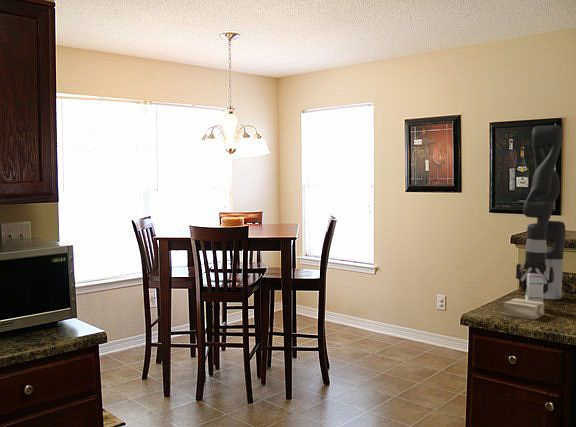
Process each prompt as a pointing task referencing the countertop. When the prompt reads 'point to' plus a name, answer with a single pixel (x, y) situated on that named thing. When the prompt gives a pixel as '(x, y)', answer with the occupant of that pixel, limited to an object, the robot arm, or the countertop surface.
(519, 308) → the maple block
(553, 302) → the countertop surface
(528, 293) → the syrup box
